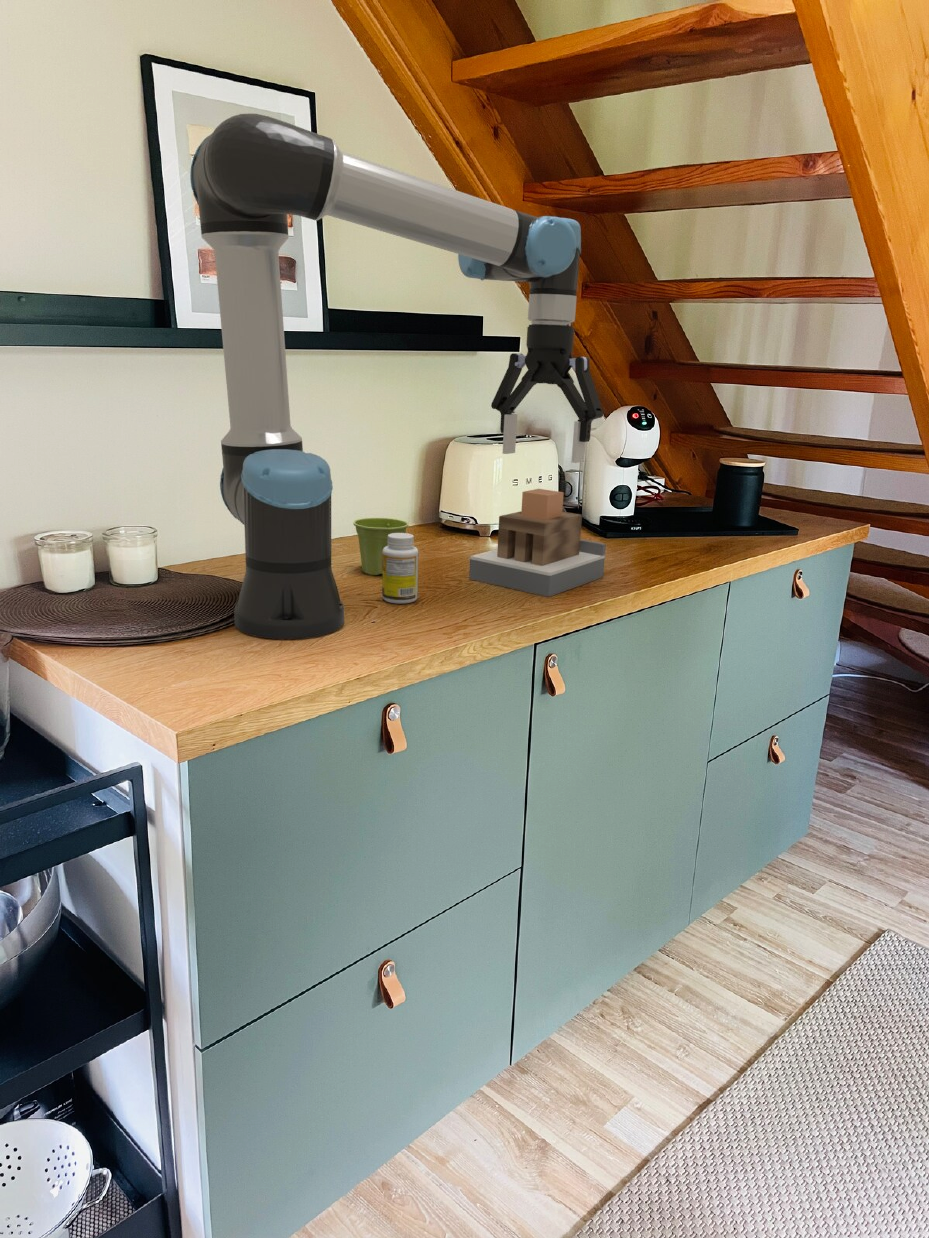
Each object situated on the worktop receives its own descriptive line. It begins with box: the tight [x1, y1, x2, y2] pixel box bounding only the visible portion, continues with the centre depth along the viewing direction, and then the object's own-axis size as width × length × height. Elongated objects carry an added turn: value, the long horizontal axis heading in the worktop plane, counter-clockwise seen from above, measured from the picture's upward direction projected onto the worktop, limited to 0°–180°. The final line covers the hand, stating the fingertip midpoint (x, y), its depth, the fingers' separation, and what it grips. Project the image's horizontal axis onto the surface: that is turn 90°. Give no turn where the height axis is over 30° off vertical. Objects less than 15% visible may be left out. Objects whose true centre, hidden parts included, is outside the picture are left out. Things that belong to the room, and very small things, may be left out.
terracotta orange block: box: [520, 488, 565, 520], centre depth 154 cm, size 5×5×4 cm
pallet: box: [497, 510, 583, 566], centre depth 156 cm, size 12×9×7 cm
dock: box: [468, 538, 607, 598], centre depth 157 cm, size 18×16×6 cm
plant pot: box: [352, 517, 410, 576], centre depth 157 cm, size 9×9×9 cm
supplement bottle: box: [381, 532, 420, 605], centre depth 141 cm, size 6×6×10 cm
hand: (542, 457), depth 152 cm, fingers open, 13 cm apart
